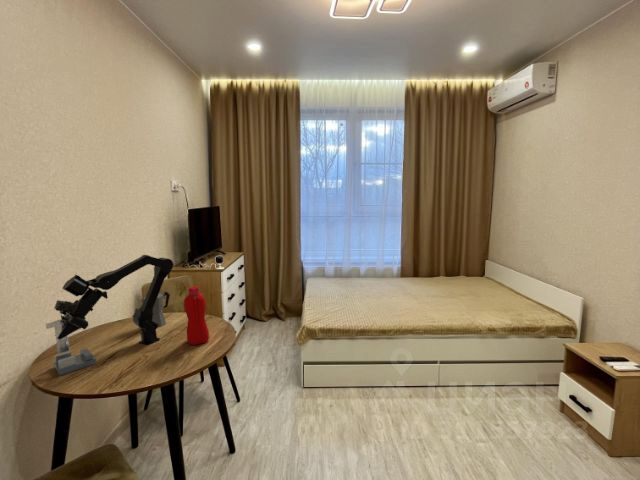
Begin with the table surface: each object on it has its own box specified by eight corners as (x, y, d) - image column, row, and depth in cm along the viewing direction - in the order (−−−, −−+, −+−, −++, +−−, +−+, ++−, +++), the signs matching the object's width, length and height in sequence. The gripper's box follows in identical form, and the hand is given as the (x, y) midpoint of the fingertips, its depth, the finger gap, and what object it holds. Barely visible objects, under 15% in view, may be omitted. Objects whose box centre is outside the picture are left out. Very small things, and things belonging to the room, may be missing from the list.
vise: (89, 356, 145) (88, 344, 144) (96, 363, 138) (95, 351, 137) (54, 367, 136) (52, 355, 136) (59, 375, 129) (57, 363, 129)
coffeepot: (149, 330, 171) (145, 295, 168) (138, 327, 176) (135, 292, 173) (177, 320, 183) (174, 287, 181) (166, 317, 188) (163, 285, 186)
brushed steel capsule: (68, 347, 137) (64, 318, 135) (70, 350, 134) (66, 320, 133) (49, 353, 132) (45, 323, 131) (51, 355, 130) (46, 325, 128)
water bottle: (188, 348, 148) (182, 292, 145) (186, 339, 158) (182, 286, 155) (210, 344, 152) (206, 289, 149) (208, 335, 162) (203, 283, 159)
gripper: (62, 288, 140) (31, 322, 134) (73, 296, 128) (40, 334, 121) (87, 301, 147) (59, 335, 141) (101, 310, 134) (70, 347, 128)
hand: (57, 337), depth 132 cm, fingers closed on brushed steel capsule, 4 cm apart
